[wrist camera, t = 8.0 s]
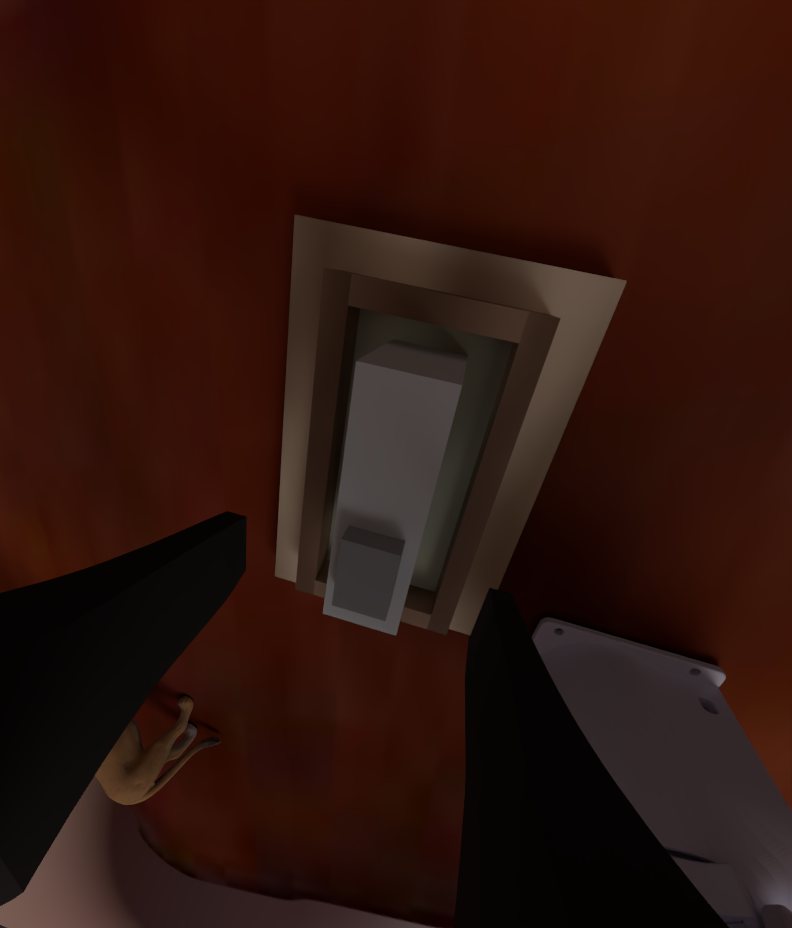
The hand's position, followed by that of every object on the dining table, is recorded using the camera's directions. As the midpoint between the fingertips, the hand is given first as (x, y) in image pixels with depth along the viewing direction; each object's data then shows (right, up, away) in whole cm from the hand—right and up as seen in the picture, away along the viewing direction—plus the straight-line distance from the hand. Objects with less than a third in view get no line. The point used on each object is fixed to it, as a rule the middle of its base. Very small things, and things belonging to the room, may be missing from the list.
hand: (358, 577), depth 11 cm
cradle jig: (+2, +4, +8) cm, 9 cm away
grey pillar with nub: (+1, +3, +6) cm, 7 cm away
